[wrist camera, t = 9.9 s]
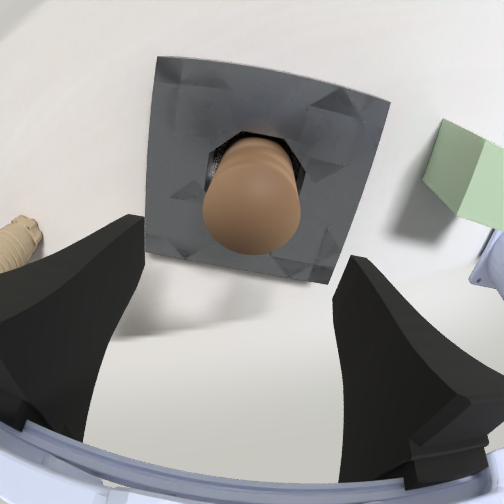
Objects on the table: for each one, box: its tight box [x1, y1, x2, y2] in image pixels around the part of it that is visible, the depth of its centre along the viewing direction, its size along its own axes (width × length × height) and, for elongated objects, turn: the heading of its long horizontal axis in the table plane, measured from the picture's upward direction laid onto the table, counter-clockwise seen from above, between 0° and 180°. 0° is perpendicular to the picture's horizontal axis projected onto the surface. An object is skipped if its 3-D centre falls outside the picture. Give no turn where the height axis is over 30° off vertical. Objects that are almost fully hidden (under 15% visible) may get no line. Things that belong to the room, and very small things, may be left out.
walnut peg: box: [203, 131, 301, 255], centre depth 16 cm, size 4×4×7 cm
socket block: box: [145, 56, 391, 285], centre depth 18 cm, size 12×12×2 cm
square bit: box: [422, 118, 504, 232], centre depth 16 cm, size 4×4×5 cm
